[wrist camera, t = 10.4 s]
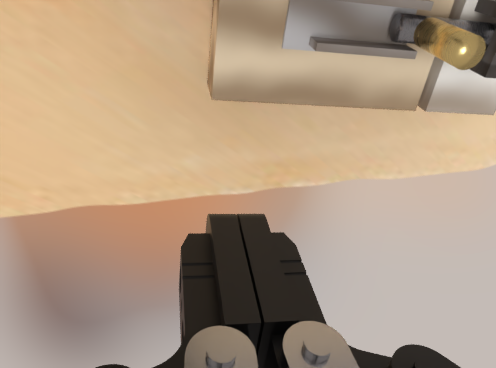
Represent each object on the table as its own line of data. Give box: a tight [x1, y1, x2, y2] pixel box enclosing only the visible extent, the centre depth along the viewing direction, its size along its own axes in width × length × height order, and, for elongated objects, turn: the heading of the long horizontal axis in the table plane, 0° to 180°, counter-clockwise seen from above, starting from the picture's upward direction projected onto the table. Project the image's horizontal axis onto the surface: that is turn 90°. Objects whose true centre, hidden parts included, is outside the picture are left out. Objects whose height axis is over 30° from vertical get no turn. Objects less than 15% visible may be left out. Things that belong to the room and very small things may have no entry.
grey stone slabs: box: [207, 0, 496, 115], centre depth 32 cm, size 14×26×8 cm, turn 83°
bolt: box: [390, 13, 496, 70], centre depth 30 cm, size 2×10×7 cm, turn 83°
